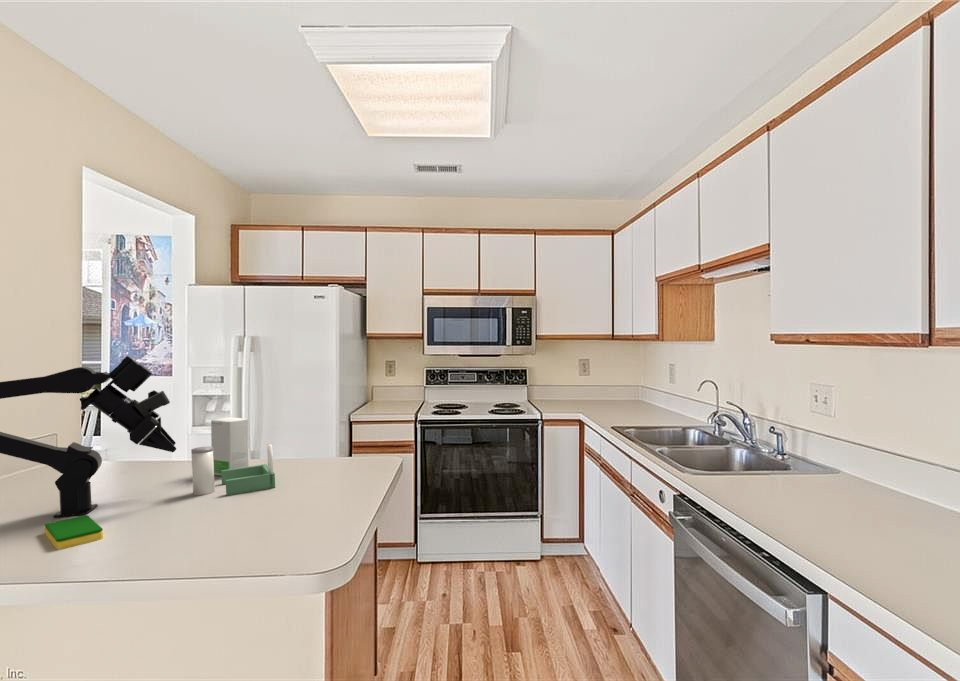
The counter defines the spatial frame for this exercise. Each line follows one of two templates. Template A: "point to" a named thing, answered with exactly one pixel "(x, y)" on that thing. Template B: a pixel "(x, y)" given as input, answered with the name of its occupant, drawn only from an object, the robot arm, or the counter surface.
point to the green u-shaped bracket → (250, 477)
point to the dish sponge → (73, 532)
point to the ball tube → (203, 470)
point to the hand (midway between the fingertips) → (174, 447)
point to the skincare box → (229, 443)
